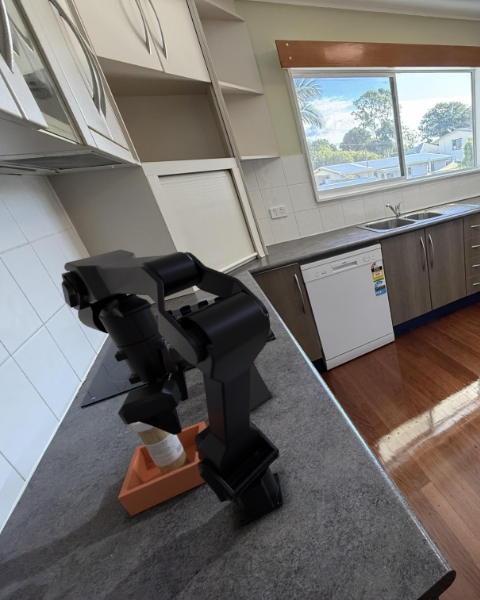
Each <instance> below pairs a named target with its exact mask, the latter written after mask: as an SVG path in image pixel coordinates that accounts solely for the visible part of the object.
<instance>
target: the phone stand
mask: <svg viewBox="0 0 480 600" xmlns="http://www.w3.org/2000/svg"><path fill="white" fill-rule="evenodd" d="M254 362H255V361H254ZM254 362H253V363H252V365H251V392H250V412H252V411H254V409H257V408H258V407H259V406H261V405H262V404H263V403H265V402H266V401H268V400H269V399H270V398H272V397H273V395H272V393H271V392H270V390H269V387H268V386H267V384H266V383H265V381H264V379H263V377H262V375H261V373H260V372H259V369H258V368H257V366H256V364H255V363H254Z"/></svg>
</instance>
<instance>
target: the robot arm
mask: <svg viewBox="0 0 480 600" xmlns="http://www.w3.org/2000/svg"><path fill="white" fill-rule="evenodd" d="M63 268H64V270H65V271H66V272H63V273H61V278H62V282H61V289H62V293H63V297H64V302H65V303H66V304H67V305H68V306H69V308H71V309H74V310H76V311H77V318H78V320H79V321H80V322H81V324H82V325H84V326H86V328H90V329H92V330H96V331H99V332H100V333H104V334H108V335H109V337H110V339H111V340H112V342H113V344H114V345H115V347H116V349H117V351H116V353H115V354H114V358H115V360H116V361H117V362H118V363H120V362H122V361H124V363H125V364H126V366H127V368H128V370H129V371H130V375H129V377H128V381H129V384H130V385H131V386H133V385H135V384H138V383H141V382H142V383H143V384H146V383H147V385H144V386H140V387H138V388H135V389H132V390H129V391H128V393H127V395H126V396H125V398H124V400H123V402H122V404H121V406H120V408H119V410H118V412H117V415H118V416H119V418H120V419H121V421H122V422H123V424H124V425H131V424H132V423H136V422H141V423H144V424H147V425H151V426H153V427H156V428H158V429H161V430H163V431H165V432H168V433H170V434H172V435H177V434H179V433H181V432H182V429H183V428H182V425H181V421H180V418H179V417H180V416H179V415H178V410H177V407H178V406H179V404H180V402H184V401H187V400H189V391H188V386H187V385H188V384H187V379H186V373H185V370H186V367H191V366H194V367H195V368H196V369H197V370H199V371H200V372H202V378H203V379H202V380H203V386H204V394H205V402H206V410H207V419H208V426H207V427H206V428H205V429H204V430H202V431H201V432H200V433H198V434H197V435H196V436H195V439H194V442H195V445H196V452H198V458H199V460H200V461H199V462H198V463H197V464H198V467H199V468H198V469H199V471H200V474H199V475H200V476H201V478H202V479H203V480H204V481H205V482H204V483H206V485H207V486H208V487H209V488H210V489H211V491H212V492H213V493H214V495H215V496H216V498H217V500H218V501H219V502H220V503H224V502H228V501H230V502H231V503H233V504H235V503H236V502H237V503H238V521H239V522H238V524H239V526H240V527H245V526H246V525H248V524H250V523H252V522H254V521H256V520H258V519H260V518H261V517H264V516H265V515H267V514H270V513H271V512H273V511H275V510H277V509H278V508H279V509H280V508H281V507H282V506H283V505H284V504H285V503H284V501H285V500H284V497H283V490H282V484H281V479H280V475H279V472H274V473H273V472H272V469H271V468H270V467H271V465H272V464H273V463H274V462H275V461H276V460H278V458H279V457H280V450H279V448H278V447H277V446H276V445H275V444H274V442H272V441H271V439H269V437H267V435H266V434H265V433H264V432H263V431H262V430H261V429H260V428H259V427H258V426H257V424H255V423H254V422H252V421H251V411H250V392H251V365H252V363H253V362H255V360H256V359H257V358H258V356H259V355H260V353H261V352H262V350H263V349H264V348H265V347H266V345H267V341H268V337H269V334H270V331H271V319H270V313H269V310H268V308H267V306H266V305H265V303H264V302H263V301H262V299H260V298H259V297H258V296H257V295H256V294H255V293H254V292H252V290H250V289H249V288H248V287H247V286H246V284H245V283H243V282H242V281H241V279H239V278H237V277H236V276H233V275H230V274H227V273H224V272H221V271H219V270H217V269H214V268H211V267H208V266H206V265H205V264H204V263H203V262H202V261H201V260H200V259H199V258H197V256H196V255H194V254H193V253H192V252H189V251H185V252H184V251H177V252H173V253H170V254H162V255H151V256H150V255H149V256H140V257H136V254H135V253H134V252H132V251H129V250H125V249H117V250H113V251H108V252H104V253H101V254H96V255H92V256H88V257H84V258H79V259H76V260H71V261H67V262H65V264H64V266H63ZM193 287H196V288H197V289H198V290H200V291H202V292H205V293H208V294H210V295H214V296H217V297H219V298H221V299H219V300H217V301H214V302H212V303H210V304H208V305H205V306H203V307H201V308H198V309H197V310H195V311H192V312H190V313H187V314H185V315H183V316H181V317H179V318H178V319H175V318H174V316H172V315H171V314H170V313H169V312H168V311H167V310H166V305H165V304H166V300H165V298H167V297H170V296H172V295H175V294H177V293H180V292H183V291H186V290H189V289H191V288H193ZM141 296H148V297H149V298H150V299H151V300H152V301H153V302H154V303H155V304H156V306H157V317H156V315H155V313H154V311H153V309H152V306H153V305H152V303H151V302H150V301H149V300H148V299H146V298H143V297H141Z"/></svg>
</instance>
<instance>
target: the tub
mask: <svg viewBox="0 0 480 600" xmlns="http://www.w3.org/2000/svg"><path fill="white" fill-rule="evenodd" d="M206 427H208V426H207V425H206V422H205V421H203V420H202V421H200V422H198V423H195V424H193V425H189V426H188V427H184V428H182V432H181V433H179V434H177V437H178V439H179V441H180V443H181V445H182V447H183V449H184V452H185V453H186V455H187V457H188V458H189V459H190V464H189V465H186V466H184V467H182V468H179V469H177V470H175V471H172V472H170V473H168V474H166V475H163V476H162V473H161V472H160V470H159V468H158V467H157V465H156V464H155V462H154V461H153V459H152V457H151V456H150V454H149V452H148V450H147V448H146V446H145V445H144V444H142V445H139V446H136V447H135V448H134V452H133V454H132V458H131V460H130V464H129V466H128V469H127V472H126V474H125V477H124V480H123V482H122V486H121V489H120V492H119V494H118V496H117V499H118V501H119V502H120V503H121V504H122V506H123V507H124V509H125V510H126V511H127V512H128V513H129V515H130V516H131V517H133V516H135V515H137V514H139V513H141V512H143V511H145V510H147V509H150V508H152V507H154V506H156V505H158V504H160V503H163V502H165V501H167V500H170V499H171V498H174V497H176V496H179V495H180V494H182V493H185V492H187V491H189V490H191V489H193V488H195V487H197V486H200V485H202V484H204V483H206V482H205V481H204V480H203V479H202V478H201V476H200V475H199V474H200V471H199V469H198V468H199V467H198V464H197V463H198V462H199V461H200V460H199V458H198V452H196V445H195V442H194V439H195V436H196V435H197V434H198V433H200V432H201V431H202V430H204V429H205V428H206Z"/></svg>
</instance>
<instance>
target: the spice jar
mask: <svg viewBox="0 0 480 600" xmlns="http://www.w3.org/2000/svg"><path fill="white" fill-rule="evenodd" d="M130 425H131V427H132V428H133V430H134V432H136V433H137V435H138V436H139V437H140V439H141V441H142V443H143V445H145V446H146V448H147V450H148V452H149V454H150V456H151V457H152V459H153V461H154V462H155V464H156V465H157V467H158V468H159V470H160V472H161V473H162V476H163V475H166V474H168V473H170V472H172V471H175V470H177V469H179V468H182V467H184V466H186V465H189V464H190V459H189V458H188V457H187V455H186V453H185V452H184V449H183V447H182V445H181V443H180V441H179V439H178V437H177V435H172V434H170V433H168V432H165V431H163V430H161V429H158V428H156V427H153V426H151V425H147V424H144V423H141V422H136V423H132V424H130Z"/></svg>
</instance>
